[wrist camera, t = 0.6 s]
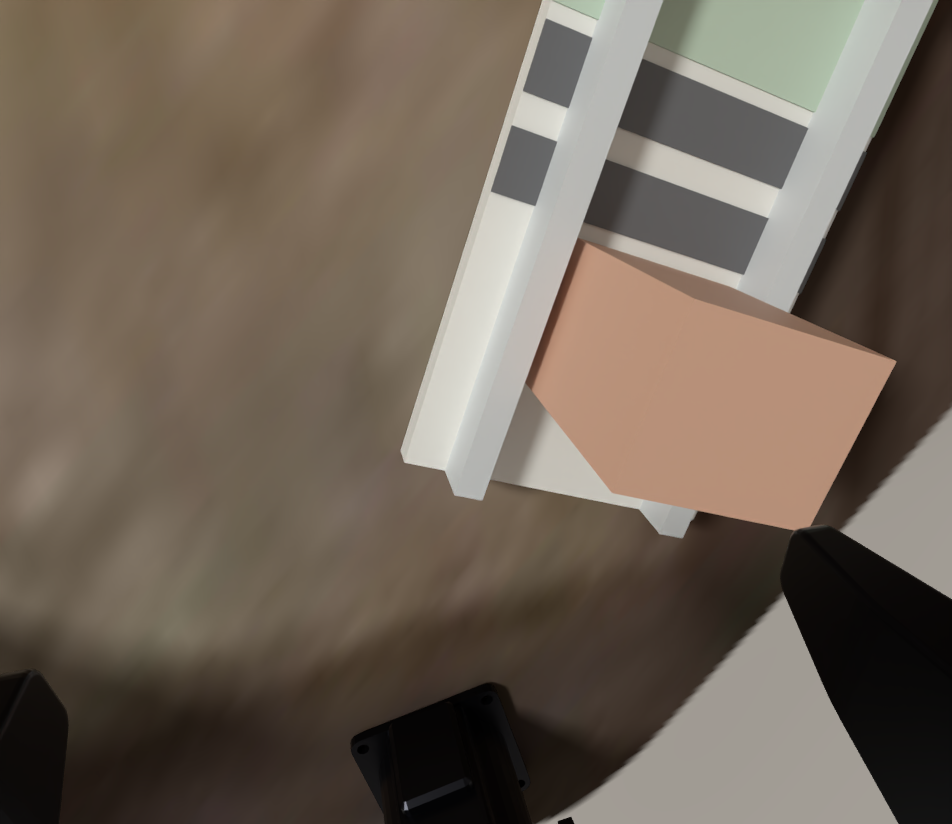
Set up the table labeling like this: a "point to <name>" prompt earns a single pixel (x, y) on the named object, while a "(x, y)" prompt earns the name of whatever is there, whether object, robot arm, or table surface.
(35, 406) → the table surface
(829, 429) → the slider block
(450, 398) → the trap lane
